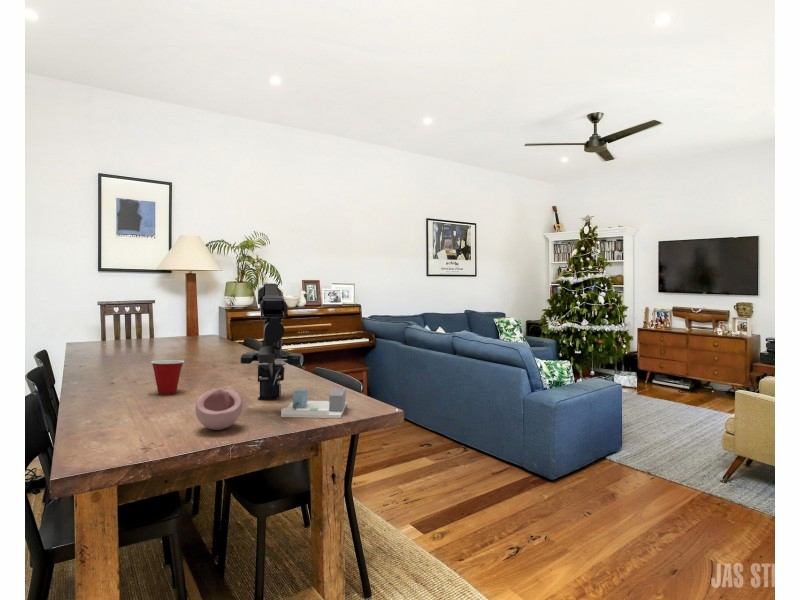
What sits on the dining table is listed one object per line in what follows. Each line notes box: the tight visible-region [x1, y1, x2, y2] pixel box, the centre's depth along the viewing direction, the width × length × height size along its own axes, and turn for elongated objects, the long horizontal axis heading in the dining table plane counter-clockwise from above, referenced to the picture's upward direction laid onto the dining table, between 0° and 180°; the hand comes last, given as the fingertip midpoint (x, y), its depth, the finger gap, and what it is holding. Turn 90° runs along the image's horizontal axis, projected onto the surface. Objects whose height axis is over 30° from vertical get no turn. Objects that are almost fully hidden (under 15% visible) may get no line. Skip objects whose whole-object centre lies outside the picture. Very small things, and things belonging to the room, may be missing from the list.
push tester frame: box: [280, 388, 348, 419], centre depth 145 cm, size 18×16×6 cm
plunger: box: [292, 388, 308, 408], centre depth 143 cm, size 3×12×5 cm, turn 0°
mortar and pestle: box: [194, 387, 243, 431], centre depth 125 cm, size 12×12×11 cm
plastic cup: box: [150, 359, 185, 396], centre depth 164 cm, size 11×11×12 cm
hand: (272, 385), depth 145 cm, fingers closed
